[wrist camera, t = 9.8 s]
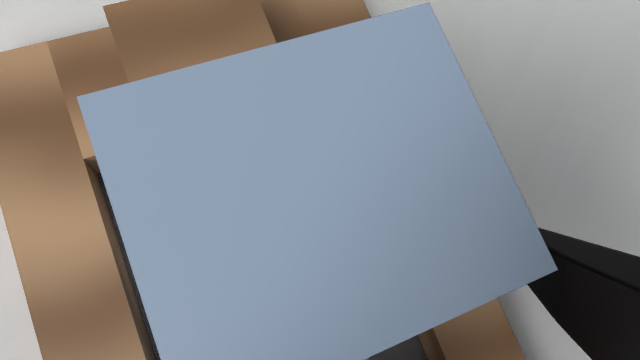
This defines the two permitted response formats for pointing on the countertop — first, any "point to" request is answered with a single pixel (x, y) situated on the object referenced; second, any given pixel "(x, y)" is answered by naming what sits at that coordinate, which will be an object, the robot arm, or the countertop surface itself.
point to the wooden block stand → (82, 167)
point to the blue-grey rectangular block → (312, 195)
